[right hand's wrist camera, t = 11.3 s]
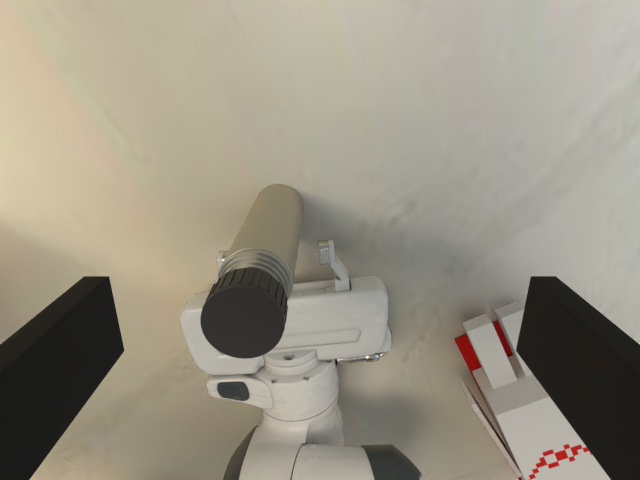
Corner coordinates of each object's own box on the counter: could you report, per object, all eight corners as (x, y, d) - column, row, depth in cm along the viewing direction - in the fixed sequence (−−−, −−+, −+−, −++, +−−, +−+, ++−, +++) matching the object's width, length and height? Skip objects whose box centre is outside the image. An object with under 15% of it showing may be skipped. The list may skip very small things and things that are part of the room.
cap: (301, 285, 24) (299, 306, 22) (269, 345, 26) (264, 371, 23) (227, 254, 23) (217, 272, 21) (199, 317, 25) (187, 341, 23)
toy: (577, 317, 37) (670, 557, 42) (517, 269, 50) (595, 458, 55) (450, 366, 39) (556, 589, 44) (424, 308, 52) (509, 486, 57)
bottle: (310, 196, 43) (303, 302, 22) (291, 236, 44) (267, 369, 24) (267, 176, 42) (217, 265, 21) (248, 217, 43) (186, 337, 23)
